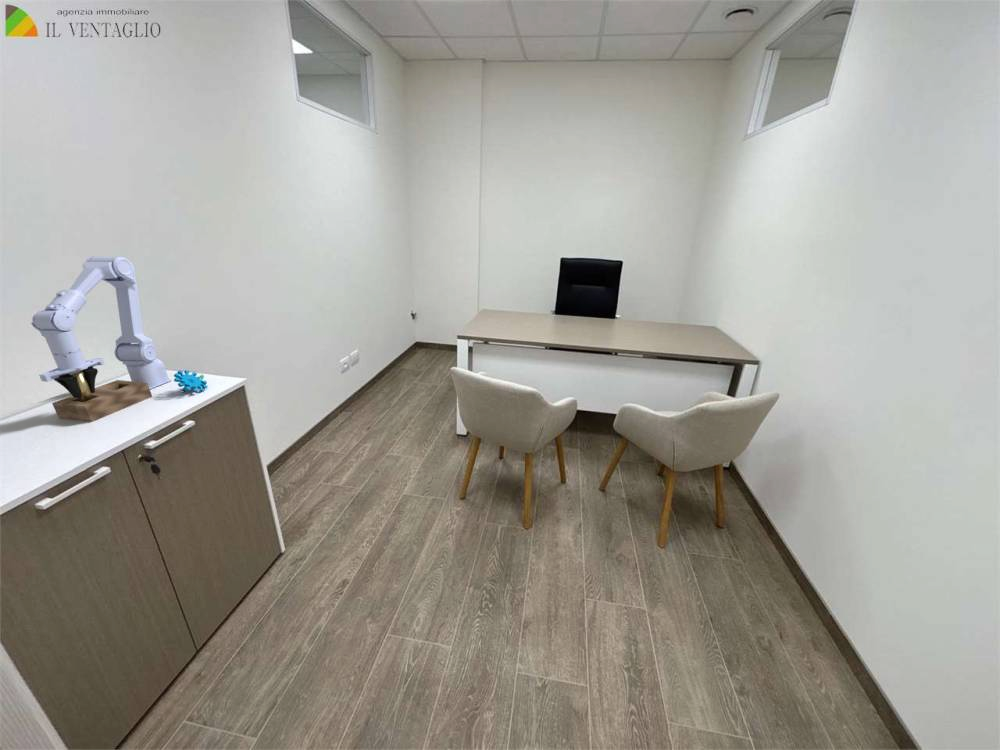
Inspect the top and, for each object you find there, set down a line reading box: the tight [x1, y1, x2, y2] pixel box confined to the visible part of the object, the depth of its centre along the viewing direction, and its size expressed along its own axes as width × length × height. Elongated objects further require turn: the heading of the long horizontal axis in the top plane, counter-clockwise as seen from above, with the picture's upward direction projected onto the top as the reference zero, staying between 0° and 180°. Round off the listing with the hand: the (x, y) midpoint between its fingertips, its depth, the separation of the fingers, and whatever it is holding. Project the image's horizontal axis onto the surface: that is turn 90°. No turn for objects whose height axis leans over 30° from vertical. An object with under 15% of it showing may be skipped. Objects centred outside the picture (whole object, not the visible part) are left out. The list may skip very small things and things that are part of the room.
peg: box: [70, 371, 93, 402], centre depth 117 cm, size 3×3×10 cm
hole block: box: [51, 379, 153, 423], centre depth 124 cm, size 18×12×5 cm, turn 170°
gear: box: [173, 369, 208, 394], centre depth 136 cm, size 11×6×10 cm
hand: (84, 394), depth 118 cm, fingers closed on peg, 3 cm apart
